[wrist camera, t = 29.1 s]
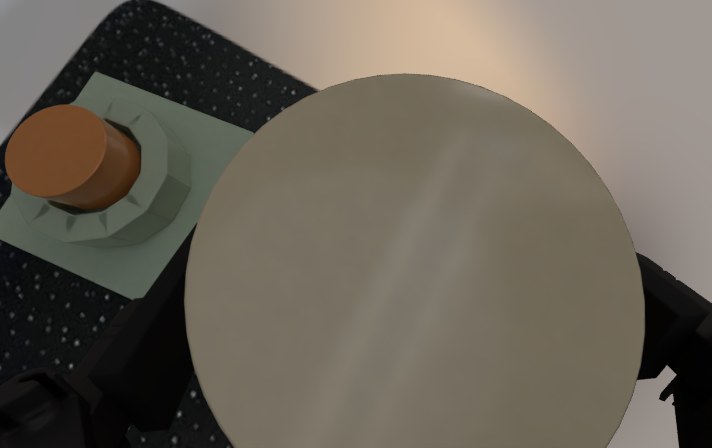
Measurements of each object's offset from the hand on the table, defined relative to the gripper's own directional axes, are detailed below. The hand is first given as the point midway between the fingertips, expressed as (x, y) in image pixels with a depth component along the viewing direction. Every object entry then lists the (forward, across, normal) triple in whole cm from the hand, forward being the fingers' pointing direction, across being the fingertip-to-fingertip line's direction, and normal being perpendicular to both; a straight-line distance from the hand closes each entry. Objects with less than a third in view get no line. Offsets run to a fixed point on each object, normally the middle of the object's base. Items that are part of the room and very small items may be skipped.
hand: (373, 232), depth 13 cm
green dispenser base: (+6, -12, 0) cm, 14 cm away
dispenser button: (+3, -12, +3) cm, 13 cm away
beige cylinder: (+2, 0, -5) cm, 5 cm away
